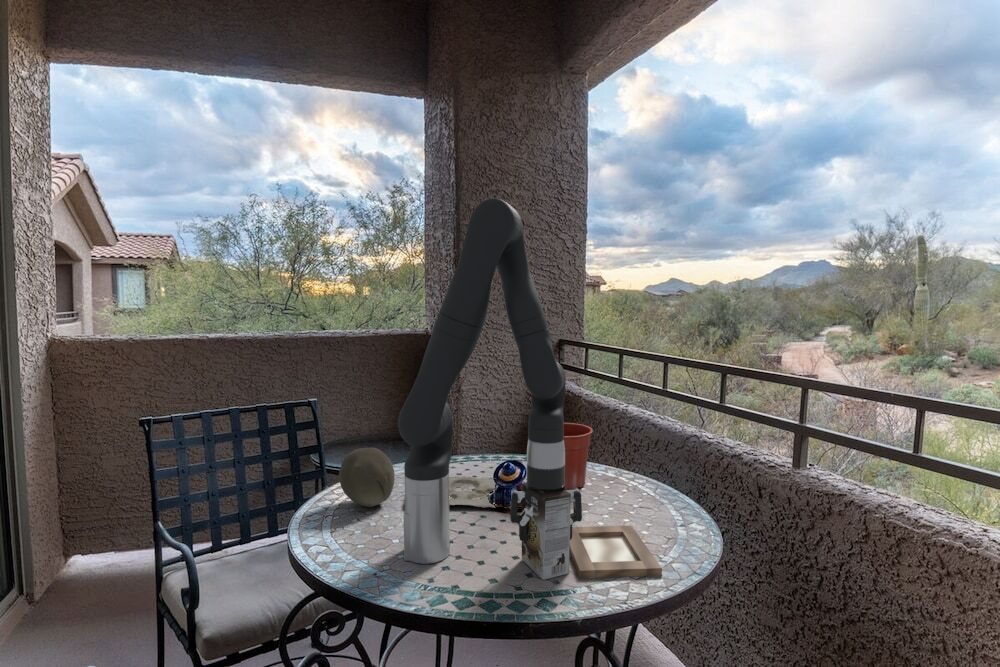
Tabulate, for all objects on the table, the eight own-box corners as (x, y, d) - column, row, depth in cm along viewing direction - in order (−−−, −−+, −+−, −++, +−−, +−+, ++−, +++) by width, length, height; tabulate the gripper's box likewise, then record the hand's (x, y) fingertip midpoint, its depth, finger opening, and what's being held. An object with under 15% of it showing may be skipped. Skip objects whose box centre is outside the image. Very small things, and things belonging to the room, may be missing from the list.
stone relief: (526, 513, 131) (524, 483, 151) (526, 502, 131) (524, 474, 151) (399, 513, 131) (414, 483, 151) (399, 502, 131) (413, 474, 151)
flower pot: (523, 481, 152) (523, 427, 151) (563, 470, 162) (564, 419, 161) (563, 498, 139) (563, 439, 138) (604, 485, 149) (604, 430, 148)
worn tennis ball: (397, 493, 143) (396, 440, 142) (392, 514, 129) (391, 455, 128) (344, 496, 141) (343, 442, 140) (334, 517, 127) (332, 458, 126)
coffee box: (519, 559, 106) (520, 482, 105) (547, 552, 109) (547, 477, 108) (542, 581, 98) (542, 497, 97) (570, 573, 100) (572, 492, 99)
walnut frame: (579, 578, 99) (580, 570, 99) (562, 533, 118) (562, 527, 118) (661, 575, 100) (661, 568, 100) (631, 531, 119) (631, 525, 119)
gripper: (511, 468, 98) (511, 551, 99) (585, 466, 98) (585, 549, 99) (508, 456, 105) (508, 534, 106) (577, 455, 106) (577, 532, 107)
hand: (545, 541), depth 103 cm, fingers closed on coffee box, 8 cm apart
